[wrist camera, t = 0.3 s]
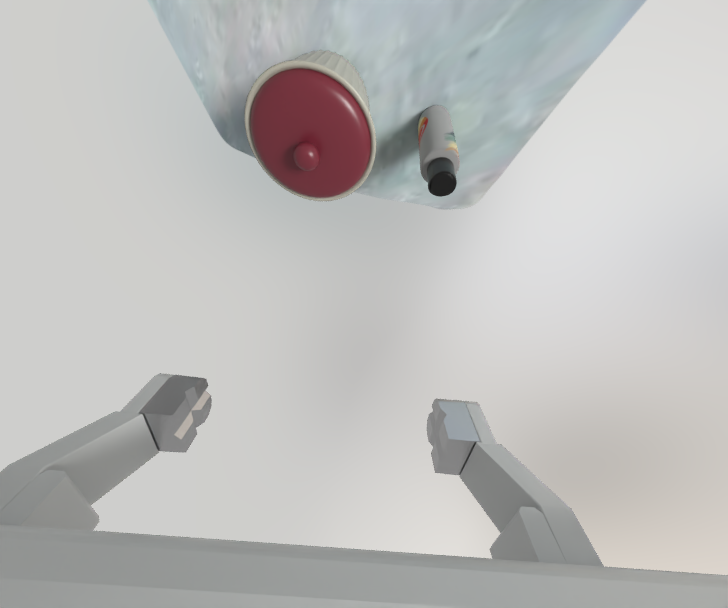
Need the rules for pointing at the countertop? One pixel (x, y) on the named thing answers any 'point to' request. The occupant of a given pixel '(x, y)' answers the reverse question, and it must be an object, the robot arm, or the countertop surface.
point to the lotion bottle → (438, 150)
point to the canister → (312, 126)
